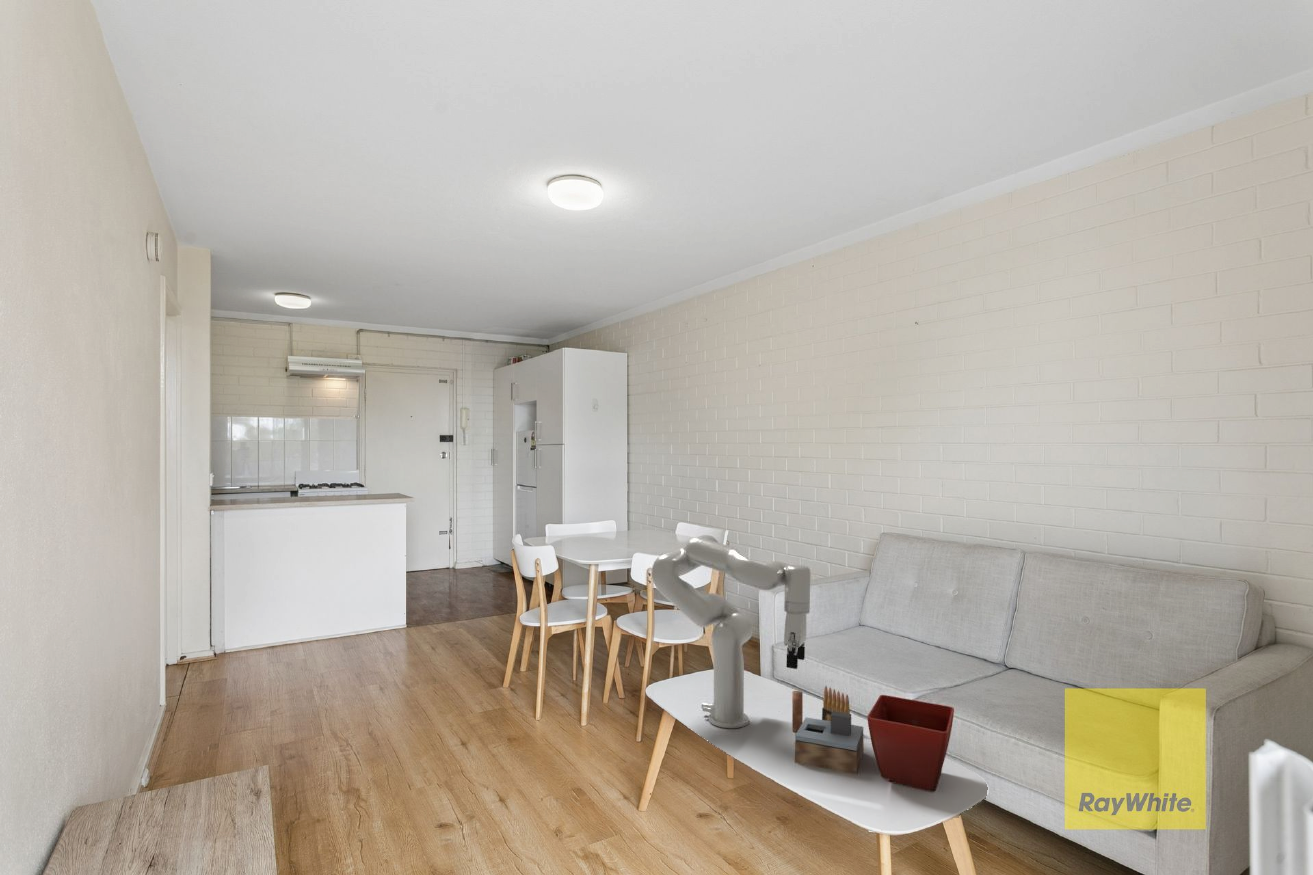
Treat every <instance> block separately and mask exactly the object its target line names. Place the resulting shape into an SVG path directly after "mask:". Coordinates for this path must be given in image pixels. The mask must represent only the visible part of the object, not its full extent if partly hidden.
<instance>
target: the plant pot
mask: <svg viewBox="0 0 1313 875" xmlns="http://www.w3.org/2000/svg"><path fill="white" fill-rule="evenodd" d="M954 716H955V708H954V707H953V706H949V705H944V704H938V703H933V702H932V703H931V702H928V701H927V702H926V701H921V700H916V699H915V700H914V699H910V698H904V697H899V696H893V695H886V694H879V696H878V699H877V700H876V701H875V703H874V705H873V706H872V708H871V710H870V711H869V713H868V715H867V716H866V717H867V726H868V731H869V737H870V742H871V745H872V751H873V754H874V758H875V761H876V764H877V767H878V770H879V773H880V776H881V777H882V778H883V779H886V780H888V782H889V783H893V784H897V785H902V786H905V787H911V788H914V789H917V790H918V789H919V790H921V791H922V790H923V791H927V792H932V793H933V792H934V793H935V792H936V790H937V788H938V786H939V781H940V777H941V775H942V771H943V767H944V762H945V760H946V756H947V752H948V747H949V744H950V738H951V733H952V729H953V722H954Z"/></svg>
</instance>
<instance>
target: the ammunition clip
mask: <svg viewBox="0 0 1313 875" xmlns="http://www.w3.org/2000/svg"><path fill="white" fill-rule="evenodd" d="M822 700H823V702H822V704H823V706H822V709H821V720H826V721H831V713H832V711H836V712H843V713H849V714H851V709H850V698H849V695H848V694H846V695H845V694H844V692H841V694H840V690H838V691H837V692H836V689H835V688H834V689H833V690H832V688H831V687H829V688H828V686H827V685H825V686H824V690H823V699H822Z"/></svg>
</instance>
